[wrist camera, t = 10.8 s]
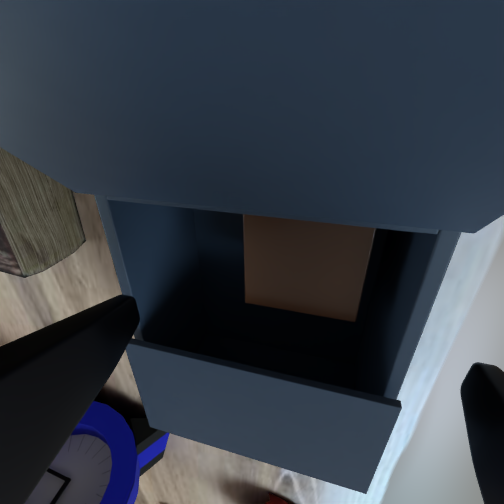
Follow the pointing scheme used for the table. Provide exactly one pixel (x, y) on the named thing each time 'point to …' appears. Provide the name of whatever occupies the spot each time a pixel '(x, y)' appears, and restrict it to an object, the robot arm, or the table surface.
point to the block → (306, 265)
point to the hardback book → (34, 219)
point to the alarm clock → (101, 460)
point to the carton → (269, 339)
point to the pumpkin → (275, 500)
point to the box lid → (264, 104)
